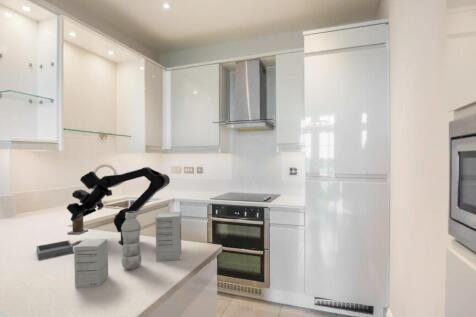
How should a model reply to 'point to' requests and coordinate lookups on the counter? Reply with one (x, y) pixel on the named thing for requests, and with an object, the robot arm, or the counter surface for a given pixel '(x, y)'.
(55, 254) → the tray
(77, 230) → the scraper handle
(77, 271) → the supplement box
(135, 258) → the plastic bottle
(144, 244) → the counter surface
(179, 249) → the supplement box
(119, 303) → the counter surface
